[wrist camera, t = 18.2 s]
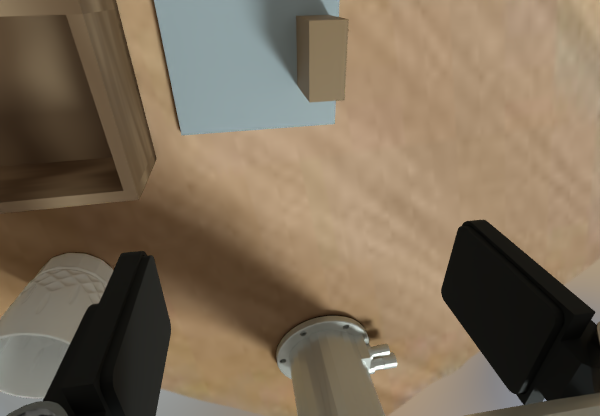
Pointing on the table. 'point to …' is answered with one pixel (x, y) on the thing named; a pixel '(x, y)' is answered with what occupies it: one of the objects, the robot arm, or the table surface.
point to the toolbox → (68, 107)
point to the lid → (253, 62)
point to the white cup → (47, 321)
